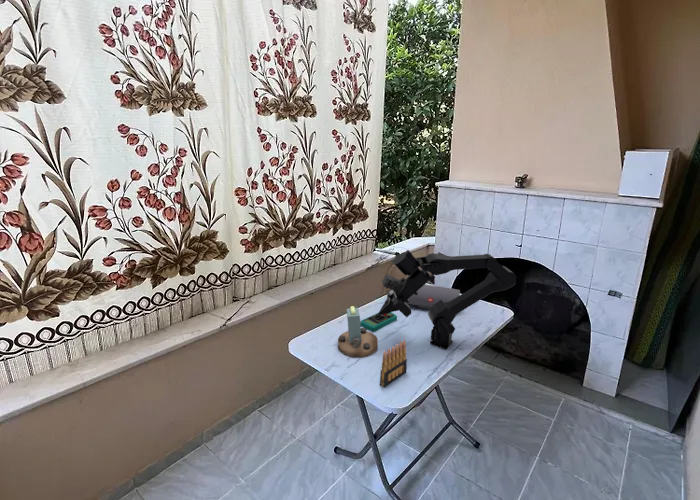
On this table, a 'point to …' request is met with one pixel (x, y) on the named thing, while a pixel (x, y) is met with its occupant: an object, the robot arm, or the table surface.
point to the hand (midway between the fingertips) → (379, 313)
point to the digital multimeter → (378, 321)
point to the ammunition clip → (393, 364)
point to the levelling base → (358, 344)
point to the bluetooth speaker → (433, 296)
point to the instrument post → (353, 323)
